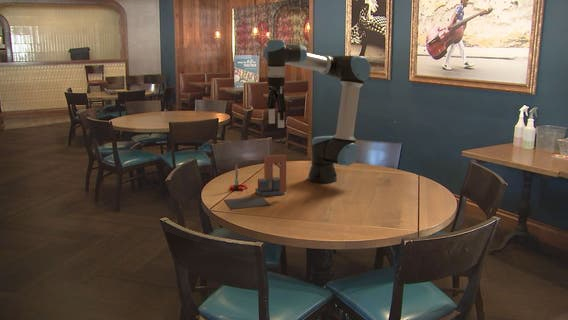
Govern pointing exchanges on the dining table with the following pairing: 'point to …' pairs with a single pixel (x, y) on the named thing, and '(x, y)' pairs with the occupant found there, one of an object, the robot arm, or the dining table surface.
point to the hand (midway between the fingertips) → (276, 125)
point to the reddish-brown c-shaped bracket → (282, 161)
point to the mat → (246, 202)
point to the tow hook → (236, 186)
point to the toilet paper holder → (269, 185)
